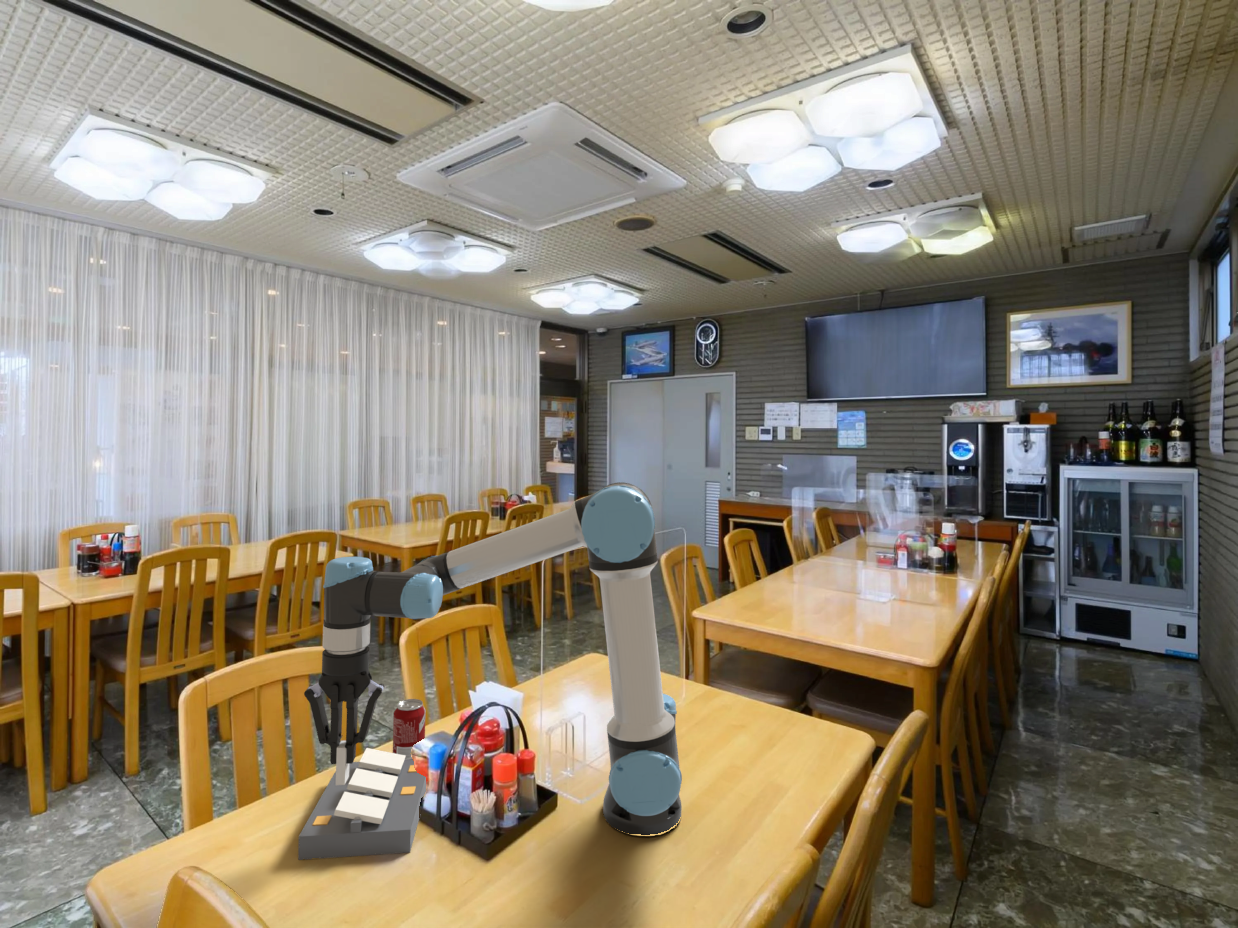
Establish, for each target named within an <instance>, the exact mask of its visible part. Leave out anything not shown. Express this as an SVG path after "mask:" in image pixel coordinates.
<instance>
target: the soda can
mask: <svg viewBox="0 0 1238 928" xmlns="http://www.w3.org/2000/svg"><path fill="white" fill-rule="evenodd" d="M426 713H427V712H426V708H425V706H424V703H423V700H421V699H417V698H407V699H403V700H400V701H399V702H397V704H396V709H395V710H394V711H393V720H392V722H393V723H392V725H393V726H392V753H395V754H400V755H405V756H406V757H405V760H409V759H412V757H411V754H410V753H411V749H412V747H413V745H414V744H416V743H417V742H419V741H421V740H422V739H424V738H425V739H426Z"/></svg>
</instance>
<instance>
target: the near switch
mask: <svg viewBox="0 0 1238 928" xmlns="http://www.w3.org/2000/svg"><path fill="white" fill-rule="evenodd" d="M388 803H389V800H385V799H380V798H375V797H370V796H365V795H359V794H354V793H349V792H344V794H343V796H342V798H341V800H340V802H339V804H338V806H337V808H336V810H335V813H334V815H335V816H340V817H345V818H350V819H354V820H362V821H366V822H371V823H376V824H381V823H382V820H383V817H384V815H385V812H386V809H387V807H388Z"/></svg>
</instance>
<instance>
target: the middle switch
mask: <svg viewBox="0 0 1238 928" xmlns="http://www.w3.org/2000/svg"><path fill="white" fill-rule="evenodd" d="M397 779H398V777H397V776H392V775H387V774H383V773H378V772H373V771H368V770H363V769H358V768H356V770H355V772H354V774H353V776H352V778H351V780H350V782H349V784H348V787H347V789H349V790H354V791H359V792H364V793H365V794H369V793H373V794H374V795H379V796H384V797H389V798H391V796H392V793H393V790H394V788H395V785H396V782H397Z"/></svg>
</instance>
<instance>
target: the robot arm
mask: <svg viewBox="0 0 1238 928" xmlns="http://www.w3.org/2000/svg"><path fill="white" fill-rule="evenodd" d="M652 506H653V505H652V503H651V501H650V499H649V497H648V495H647V494H646V493H645V492H644V491H643V490H642V489H641V488H639V487H638V486H637V485H634V484H632V483H629V482H625V481H624V482H623V481H622V482H613V483H610V484H607V485H605V486H603V487H602V488H600V489H599V490H598V491H597V490H596V491H595V492H594V493H592V494H589V495H588V496H585V497H582V498H580V499H578V500H574V501H573V503H572V505H571V507H570V508H567V509H565V510H562V511H559V512H557V513H553V514H550V515H548V516H546V517H545V516H544V517H543V518H540V519H537V520H535V521H532V522H528V523H525V524H523V525H519V526H518V527H514V528H512V529H508V530H506V531H503V532H501V533H498V534H495V535H492V536H489V537H486V538H483V539H481V540H477V541H475V542H472V543H469V544H467V545H464V546H461V547H458V548H456V549H452V550H450V551H448V552H444V553H441V554H439V555H431V556H430V557H427V558H425V559H422V560H421V561H420V562H418V563H417V564H415V565H413V566H411V567H409V568H407V569H406V570H403V571H401V572H400V571H399V572H396V571H394V572H392V571H378V570H374V567H373V561H372V560H371V559H370V558H368V557H363V556H341V557H336V558H334V559H331V560H330V561H328V563H326V566H325V574H324V583H323V586H322V587H323V588H322V589H324V590H323V591H324V592H323V593H324V594H323V596H324V597H323V624H322V625H323V627H322V648H323V650H322V653H321V654H322V657H321V674H320V677H319V679H318V682H317V683H315V684H310V685H309V686H308V687H307V688H306V690H305V691H304V692H303V694H304V697H305V698H306V700H307V701H308V702H309V704H310V709H311V713H312V717H313V721H314V726H315V730H316V734H317V739H318V743H319V744H321V745H325V744H326V745H329V747H330V757H329V758H330V764H331V765H336V766H335V771H336V785H345V783H346V781H347V779H348V777H349V764H352V763H353V762H355V759H356V754H357V751H356V750H357V744H361V743H364V741H365V740H366V737H367V735H368V733H369V730H370V727H371V723H372V720H373V716H374V713H375V709H376V706H377V702H378V699H379V698H380V696H381V695H382V693H383V692H384V690H385V684H384V683H377V682H375V681H374V680H373V678H372V674H371V673H370V650H371V649H370V647H369V645H370V643H371V618H372V617H371V616H373V617H375V616H376V617H386V618H387V617H388V618H389V617H390V618H403V619H411V620H418V619H432V618H433V617H436V615H438V612H439V610H440V608H441V606H442V604H443V603H442V602H443V596H445V595H448V594H450V593H453V592H456V591H458V590H461V589H464V588H466V587H470V586H472V585H475V584H478V583H481V582H484V581H487V580H490V579H492V578H496V577H498V576H502V575H504V574H507V573H509V572H513V571H516V570H519V569H521V568H524V567H528V566H530V565H533V564H535V563H539V562H541V561H545V560H547V559H550V558H553V557H556V556H560V555H562V554H564V553H567V552H570V551H573V550H577V549H579V548H581V547H584V548H587V549H586V550H587V559H588V567H589V570H590V572H592V573H593V574H594V575H595V576H597V577H598V579H599V584H600V593H601V602H602V610H603V622H604V630H605V631H604V632H605V641H606V649H607V651H606V652H607V659H608V667H609V668H608V669H609V676H610V679H609V680H610V686H611V687H610V688H611V695H612V705H613V716H612V717H611V719H609V721H608V722H607V724H606V733H607V742H608V743H607V744H608V752H609V753H608V754H609V761H610V764H609V765H610V770H609V775H608V786H607V789H606V790H605V794H604V797H603V803H602V806H603V807H602V813H603V814H604V815H603V814H602V815H603V818H604V817H605V818H604V820H605V819H606V820H605V821H606V823H607V822H608V823H609V824H610V825H611V826H610V825H609V824H608V823H607V824H608V825H609V826H610V827H611V828H613V827H614V828H616V829H618V830H620V831H623V832H625V833H629V834H641V835H650V834H658V833H661V832H664V831H667V830H669V829H670V828H671V827H673V826H674V825H676V823H678V821H679V819H680V817H681V818H682V801H681V797H680V792H681V787H682V782H683V775H682V771H681V769H680V768H681V767H680V759H679V750H678V749H679V748H678V742H677V733H676V717H677V712H678V711H677V704H676V703H677V702H676V701H675V699H674V698H673V697H672V696H671V695H668V694H666V693H663V684H662V683H663V681H662V673H661V665H660V664H661V663H660V657H659V646H658V637H657V627H656V626H657V625H656V618H655V617H656V616H655V608H654V599H653V598H654V597H653V589H652V580H651V578H652V577H651V572H652V570H653V569H654V568H655V567H656V565H657V564H658V559H659V558H658V552H657V551H658V549H657V540H656V539H657V538H656V531H655V529H656V519H655V514H654V510H653V507H652ZM367 688H368V690H367ZM366 690H367V691H368V692H367V694H368V696H369V698H368V700H367V703H366V707H365V710H364V713H363V718H362V720H361V725H360V727H359V730H358V714H359V713H358V710H359V699H360V697H361V695H362V694H363V693H364V692H365V691H366ZM323 693H324V694H325V695H326V696H327V698H328V699H329V700H330V701H329V702H330V705H329V706H330V707H329V708H330V725H329V720H328V716H327V711H326V707H325V703H324V699H323V696H322V694H323ZM343 702H344V703H345V708H346V725H345V726H346V727H345V728H346V729H345V730H346V731H345V733H346V735H345V739H344V740H342V738H343V734H342V731H343V728H342V727H343V726H342V725H343ZM358 731H359V732H358ZM614 828H613V829H614ZM616 829H615V830H616ZM618 830H617V831H618ZM620 831H619V832H620Z"/></svg>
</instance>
